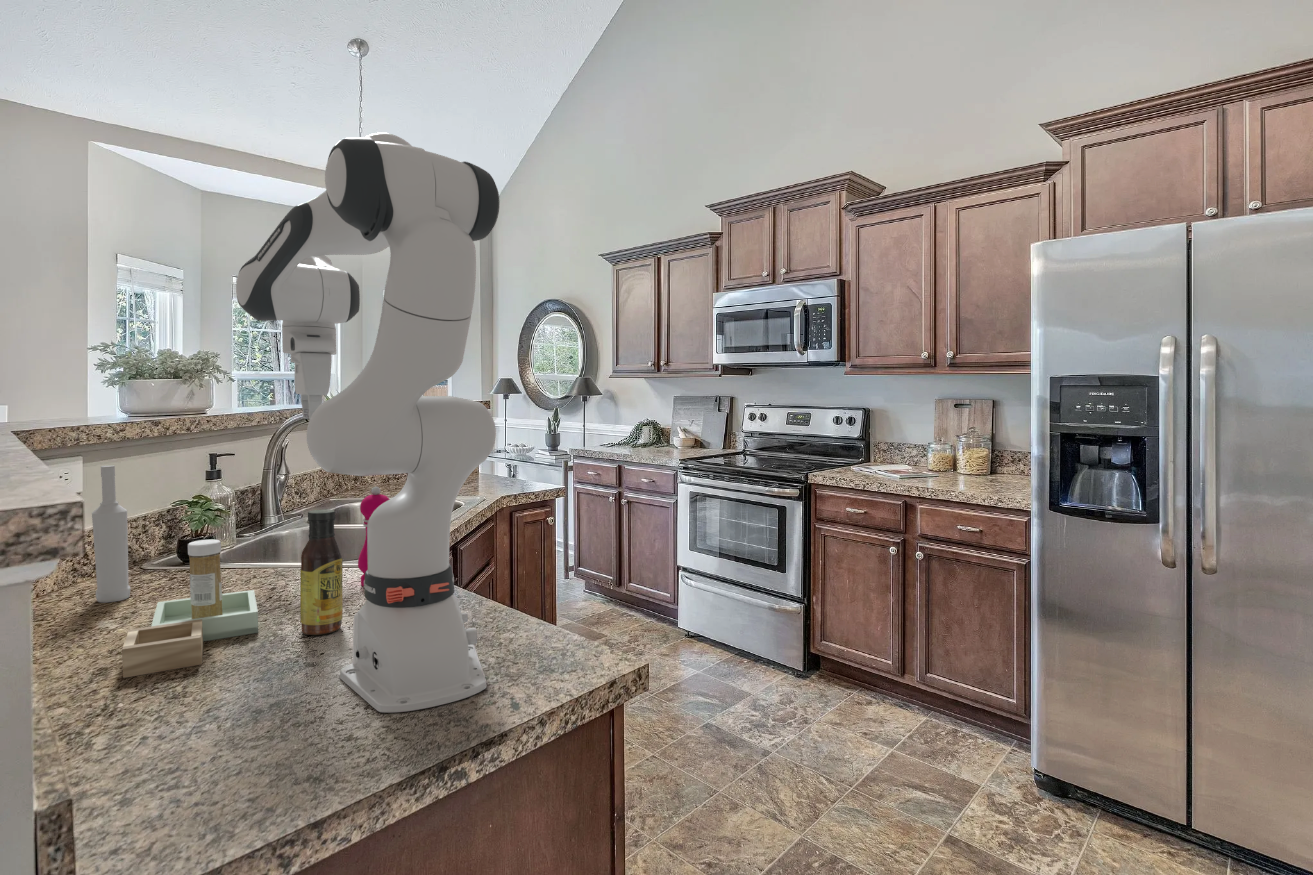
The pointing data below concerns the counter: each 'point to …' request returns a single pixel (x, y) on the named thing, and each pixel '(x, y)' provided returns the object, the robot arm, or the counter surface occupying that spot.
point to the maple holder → (162, 648)
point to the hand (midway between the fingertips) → (311, 419)
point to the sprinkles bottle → (205, 578)
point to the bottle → (110, 543)
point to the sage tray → (233, 622)
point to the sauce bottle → (321, 577)
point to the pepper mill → (367, 509)
